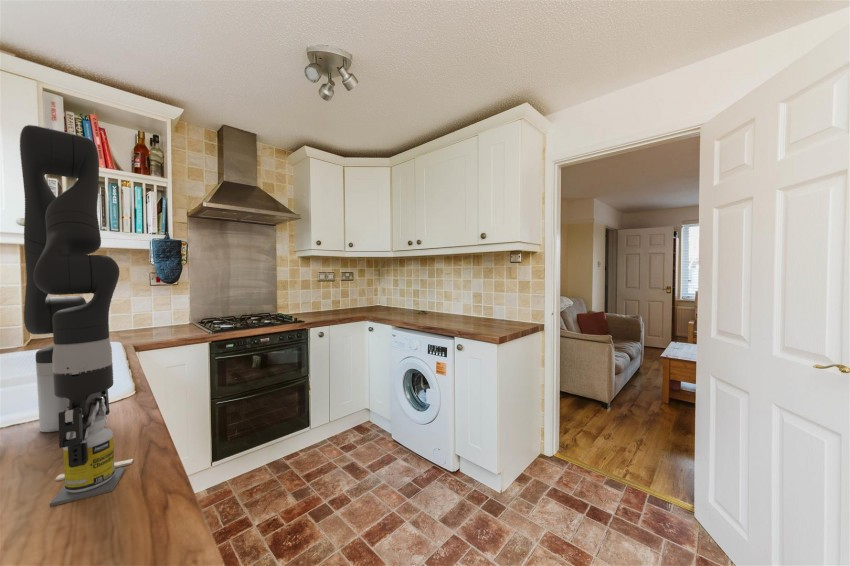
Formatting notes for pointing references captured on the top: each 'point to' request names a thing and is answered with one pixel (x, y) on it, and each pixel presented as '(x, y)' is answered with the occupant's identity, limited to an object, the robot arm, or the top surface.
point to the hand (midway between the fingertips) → (88, 453)
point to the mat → (106, 487)
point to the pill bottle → (92, 460)
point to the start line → (117, 464)
